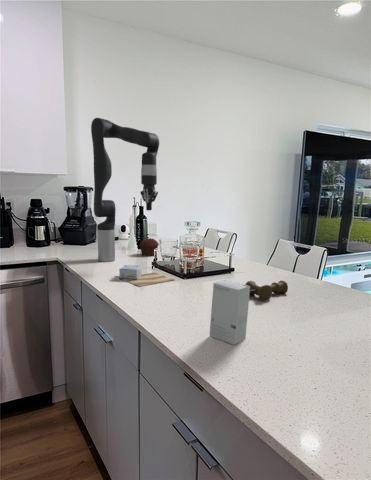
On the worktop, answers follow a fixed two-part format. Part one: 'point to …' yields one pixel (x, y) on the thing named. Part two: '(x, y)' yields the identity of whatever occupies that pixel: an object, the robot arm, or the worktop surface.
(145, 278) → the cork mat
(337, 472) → the worktop surface
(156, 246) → the muffin
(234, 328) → the skincare box
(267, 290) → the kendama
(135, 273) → the medicine box
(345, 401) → the worktop surface
